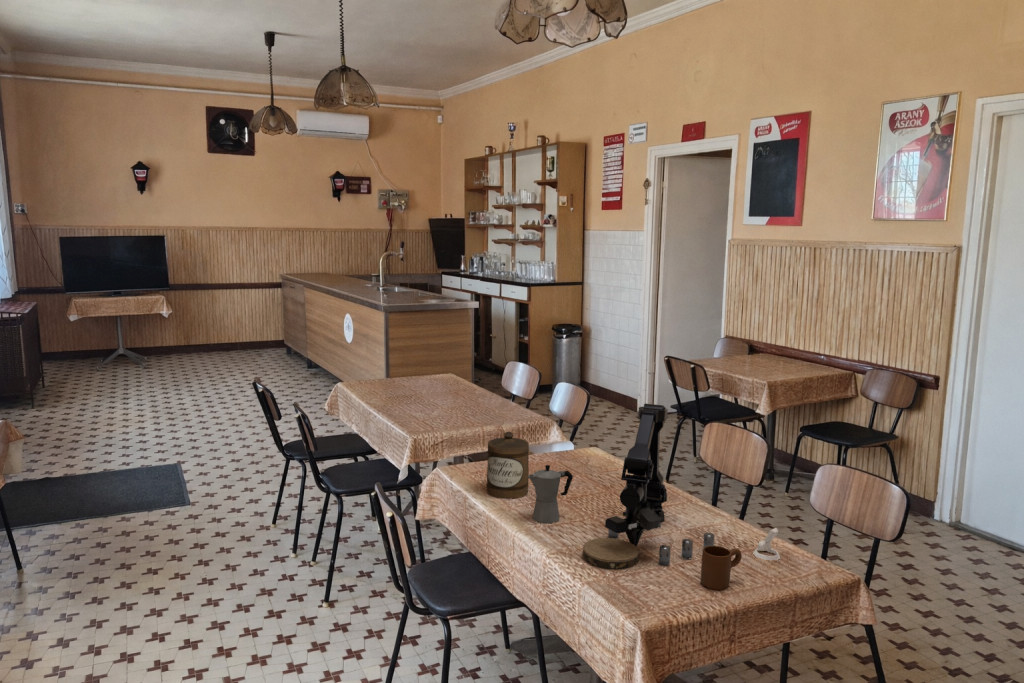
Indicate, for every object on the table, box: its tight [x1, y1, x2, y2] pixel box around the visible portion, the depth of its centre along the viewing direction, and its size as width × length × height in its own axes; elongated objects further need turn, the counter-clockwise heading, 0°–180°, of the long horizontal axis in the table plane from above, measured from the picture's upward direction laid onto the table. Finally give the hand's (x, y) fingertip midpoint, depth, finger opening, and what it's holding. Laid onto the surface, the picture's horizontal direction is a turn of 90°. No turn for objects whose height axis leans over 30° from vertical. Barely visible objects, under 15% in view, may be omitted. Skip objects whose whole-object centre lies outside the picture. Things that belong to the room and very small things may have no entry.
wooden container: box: [486, 431, 530, 499], centre depth 271 cm, size 15×15×22 cm
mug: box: [700, 545, 743, 591], centre depth 204 cm, size 12×8×9 cm, turn 114°
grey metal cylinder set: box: [607, 523, 715, 567], centre depth 229 cm, size 25×21×5 cm
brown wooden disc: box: [582, 537, 640, 571], centre depth 219 cm, size 16×16×3 cm
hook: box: [752, 527, 781, 561], centre depth 220 cm, size 8×12×7 cm
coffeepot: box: [528, 464, 573, 524], centre depth 247 cm, size 15×9×18 cm, turn 107°
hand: (633, 547), depth 224 cm, fingers closed
